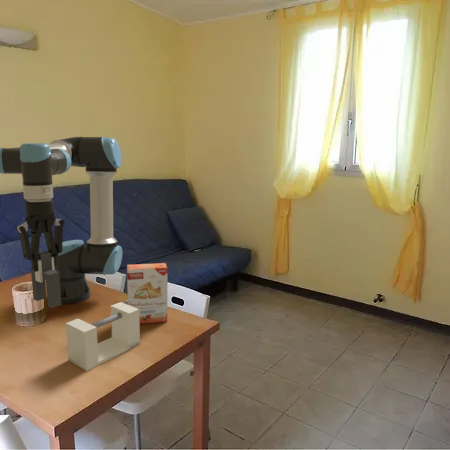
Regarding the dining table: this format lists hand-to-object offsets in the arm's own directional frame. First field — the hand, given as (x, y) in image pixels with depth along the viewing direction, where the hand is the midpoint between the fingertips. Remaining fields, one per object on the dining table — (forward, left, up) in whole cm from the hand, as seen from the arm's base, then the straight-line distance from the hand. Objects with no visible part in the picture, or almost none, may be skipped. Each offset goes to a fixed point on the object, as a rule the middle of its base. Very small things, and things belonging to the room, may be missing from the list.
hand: (45, 279), depth 120 cm
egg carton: (-16, +37, -25) cm, 48 cm away
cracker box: (-5, +35, -25) cm, 43 cm away
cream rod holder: (+7, +14, -25) cm, 29 cm away
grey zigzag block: (0, 0, -7) cm, 7 cm away
